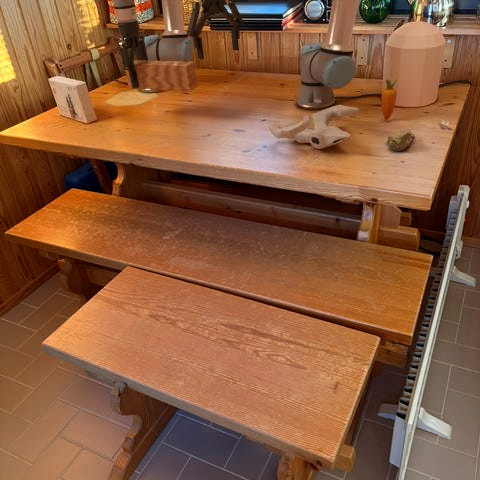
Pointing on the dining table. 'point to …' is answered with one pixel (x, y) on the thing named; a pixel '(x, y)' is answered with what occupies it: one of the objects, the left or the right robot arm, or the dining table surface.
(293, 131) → the cream branched piece
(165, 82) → the bar
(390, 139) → the rock
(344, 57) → the right robot arm
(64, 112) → the skincare box
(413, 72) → the container
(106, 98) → the dining table surface
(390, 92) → the carrot
